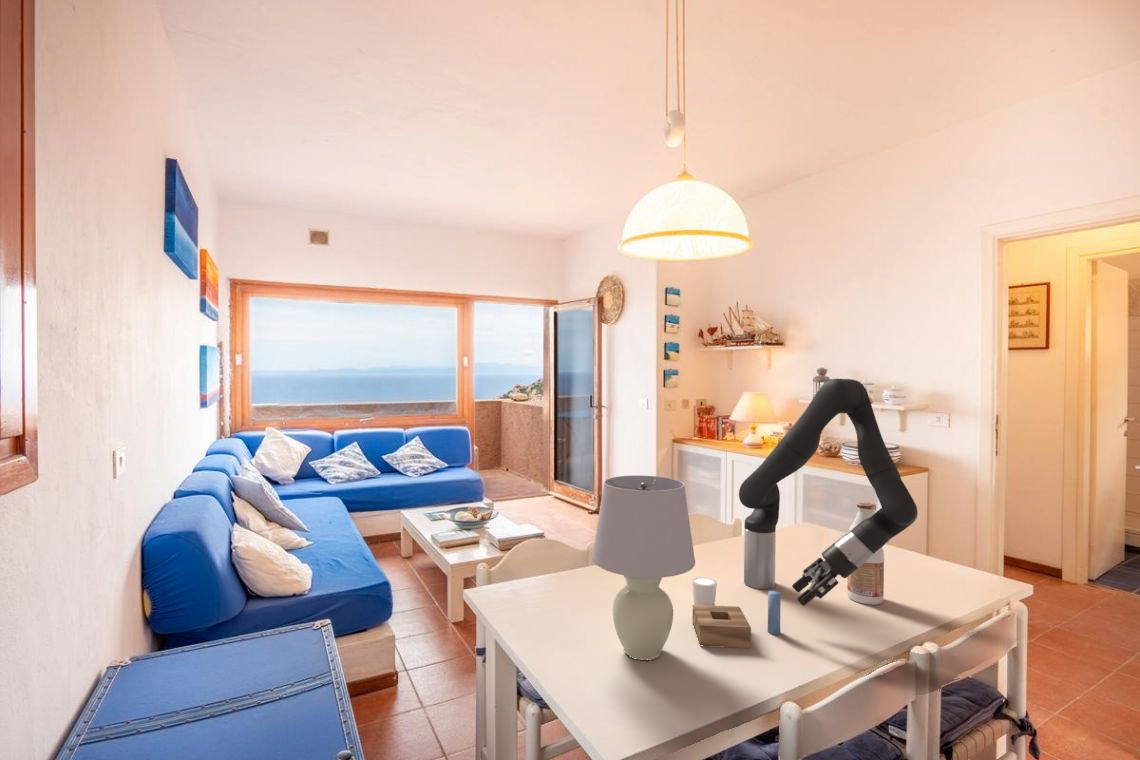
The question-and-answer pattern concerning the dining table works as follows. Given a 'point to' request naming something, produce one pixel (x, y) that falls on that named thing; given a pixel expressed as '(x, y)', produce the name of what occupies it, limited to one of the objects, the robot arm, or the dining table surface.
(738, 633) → the hole block
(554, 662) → the dining table surface
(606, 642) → the dining table surface
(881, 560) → the fruit juice
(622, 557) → the lamp
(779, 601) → the peg
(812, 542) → the dining table surface
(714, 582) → the white cup
